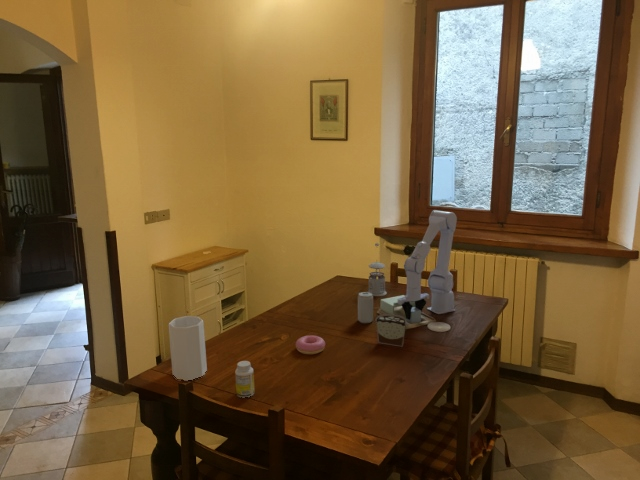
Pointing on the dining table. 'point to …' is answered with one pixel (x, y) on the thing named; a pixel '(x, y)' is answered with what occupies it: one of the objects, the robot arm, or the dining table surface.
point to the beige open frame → (400, 311)
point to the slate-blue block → (414, 316)
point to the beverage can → (365, 307)
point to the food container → (391, 329)
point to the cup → (187, 347)
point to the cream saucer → (439, 327)
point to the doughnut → (310, 344)
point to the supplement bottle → (244, 379)
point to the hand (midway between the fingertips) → (413, 317)
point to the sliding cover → (392, 304)
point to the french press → (377, 284)
